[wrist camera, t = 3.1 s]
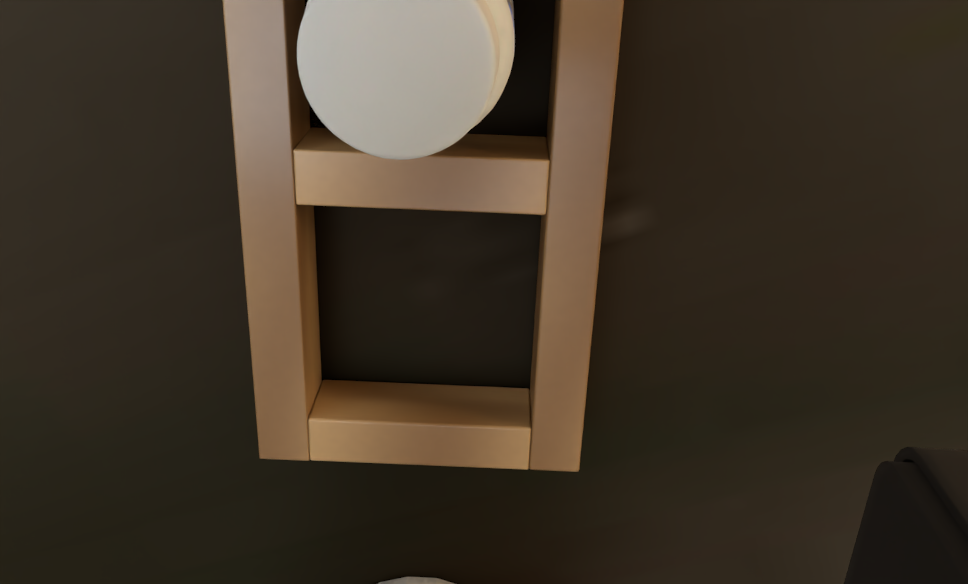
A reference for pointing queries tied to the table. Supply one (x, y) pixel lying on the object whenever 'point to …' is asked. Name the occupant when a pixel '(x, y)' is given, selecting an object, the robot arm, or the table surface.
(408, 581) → the coffee cup
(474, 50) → the pill bottle
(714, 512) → the table surface
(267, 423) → the holder
